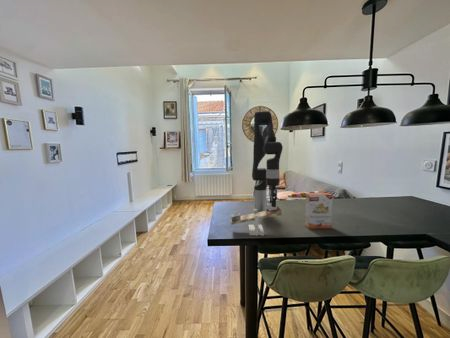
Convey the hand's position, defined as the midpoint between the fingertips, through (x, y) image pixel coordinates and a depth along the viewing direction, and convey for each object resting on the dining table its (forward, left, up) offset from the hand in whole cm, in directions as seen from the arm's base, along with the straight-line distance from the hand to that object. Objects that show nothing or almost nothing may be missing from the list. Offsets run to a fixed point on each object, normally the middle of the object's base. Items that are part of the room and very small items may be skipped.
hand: (272, 205), depth 126 cm
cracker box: (-24, +16, -16) cm, 33 cm away
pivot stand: (+7, -7, -16) cm, 19 cm away
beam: (+7, -7, -7) cm, 12 cm away
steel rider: (0, 0, -4) cm, 4 cm away
